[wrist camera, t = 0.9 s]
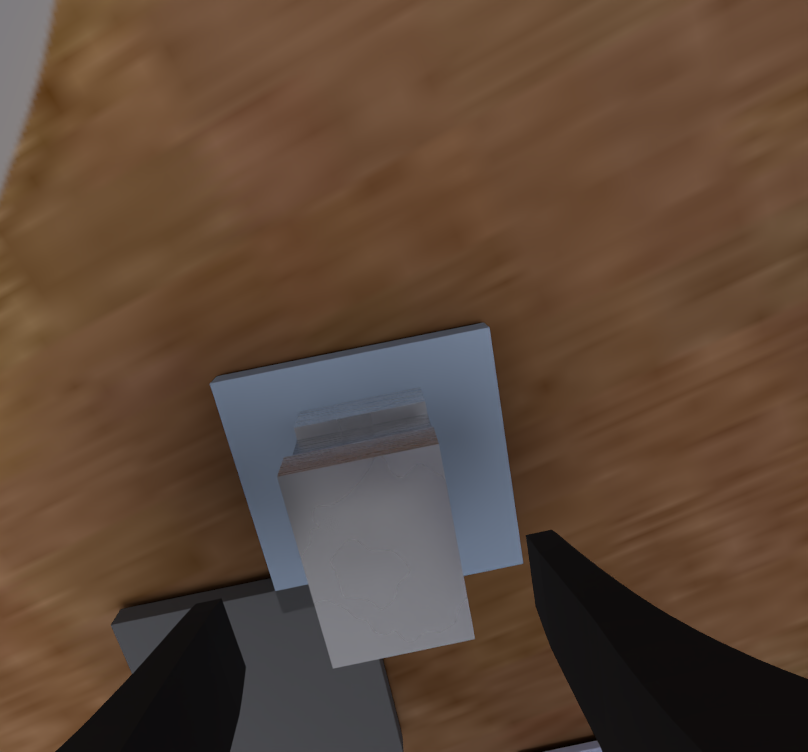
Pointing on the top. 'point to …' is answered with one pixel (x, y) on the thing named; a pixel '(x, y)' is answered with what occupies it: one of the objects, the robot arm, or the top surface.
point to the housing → (376, 528)
